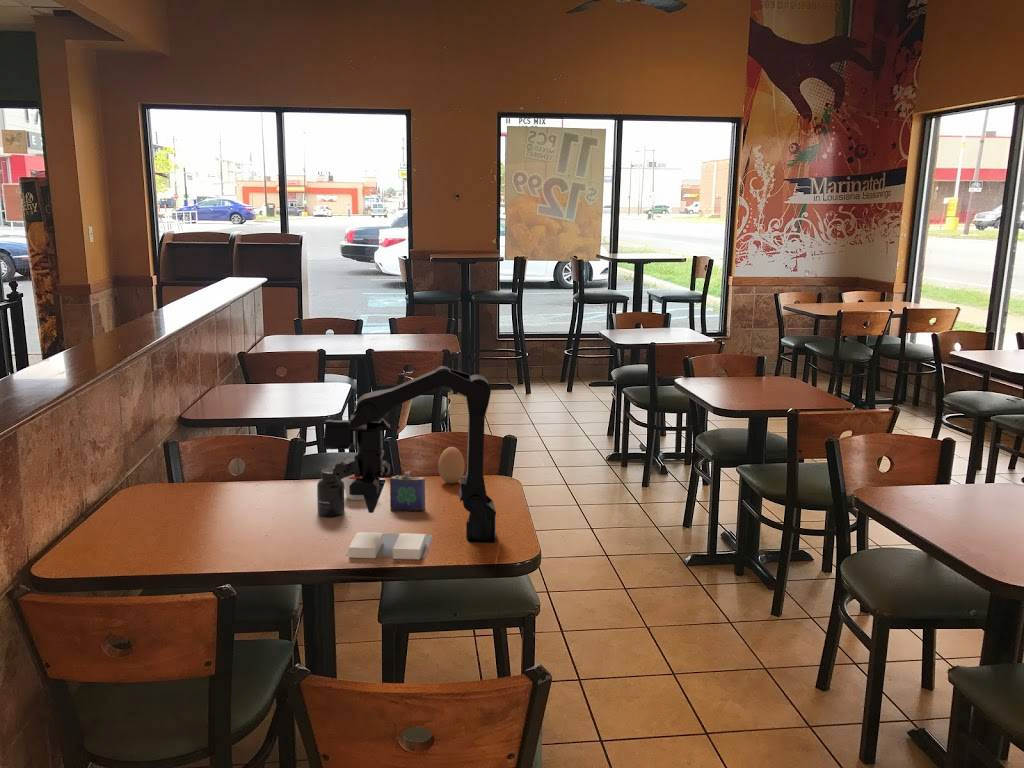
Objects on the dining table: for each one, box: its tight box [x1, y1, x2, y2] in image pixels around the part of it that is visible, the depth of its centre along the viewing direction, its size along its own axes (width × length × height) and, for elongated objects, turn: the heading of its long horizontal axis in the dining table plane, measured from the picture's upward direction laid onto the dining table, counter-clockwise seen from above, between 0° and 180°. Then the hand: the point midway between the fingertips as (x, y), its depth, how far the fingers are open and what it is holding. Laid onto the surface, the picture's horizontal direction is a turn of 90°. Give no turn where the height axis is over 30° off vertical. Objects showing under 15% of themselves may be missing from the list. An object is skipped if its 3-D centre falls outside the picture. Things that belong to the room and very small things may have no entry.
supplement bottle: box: [316, 467, 345, 519], centre depth 222 cm, size 7×7×12 cm
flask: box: [389, 470, 426, 513], centre depth 226 cm, size 9×3×11 cm, turn 88°
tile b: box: [348, 531, 384, 559], centre depth 199 cm, size 6×2×10 cm
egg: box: [437, 446, 466, 485], centre depth 250 cm, size 8×8×11 cm
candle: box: [341, 474, 365, 501], centre depth 237 cm, size 9×9×6 cm
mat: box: [345, 533, 434, 559], centre depth 202 cm, size 18×14×1 cm
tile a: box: [392, 532, 426, 560], centre depth 199 cm, size 6×2×10 cm
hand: (371, 512), depth 204 cm, fingers closed
